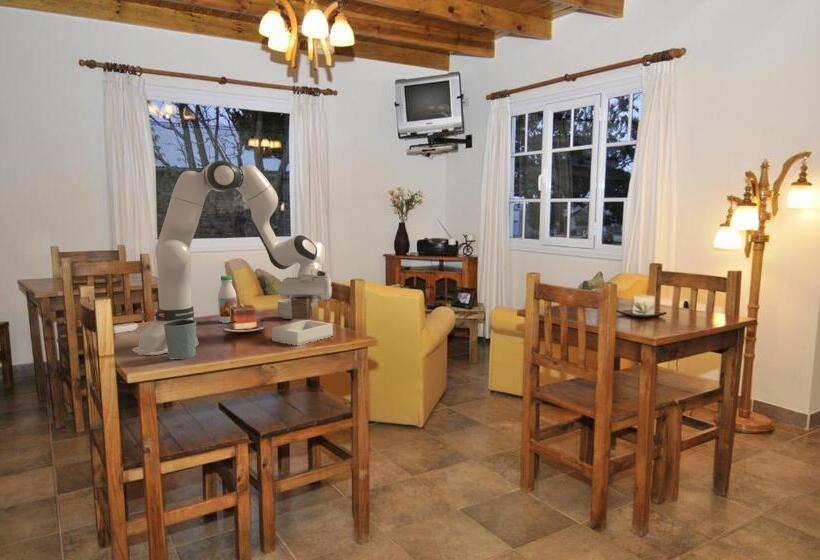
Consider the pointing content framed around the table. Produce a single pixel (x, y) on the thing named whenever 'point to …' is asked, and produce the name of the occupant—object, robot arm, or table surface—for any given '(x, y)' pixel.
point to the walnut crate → (301, 308)
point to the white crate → (302, 332)
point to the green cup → (181, 338)
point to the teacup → (284, 309)
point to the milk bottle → (226, 299)
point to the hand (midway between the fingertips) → (301, 307)
